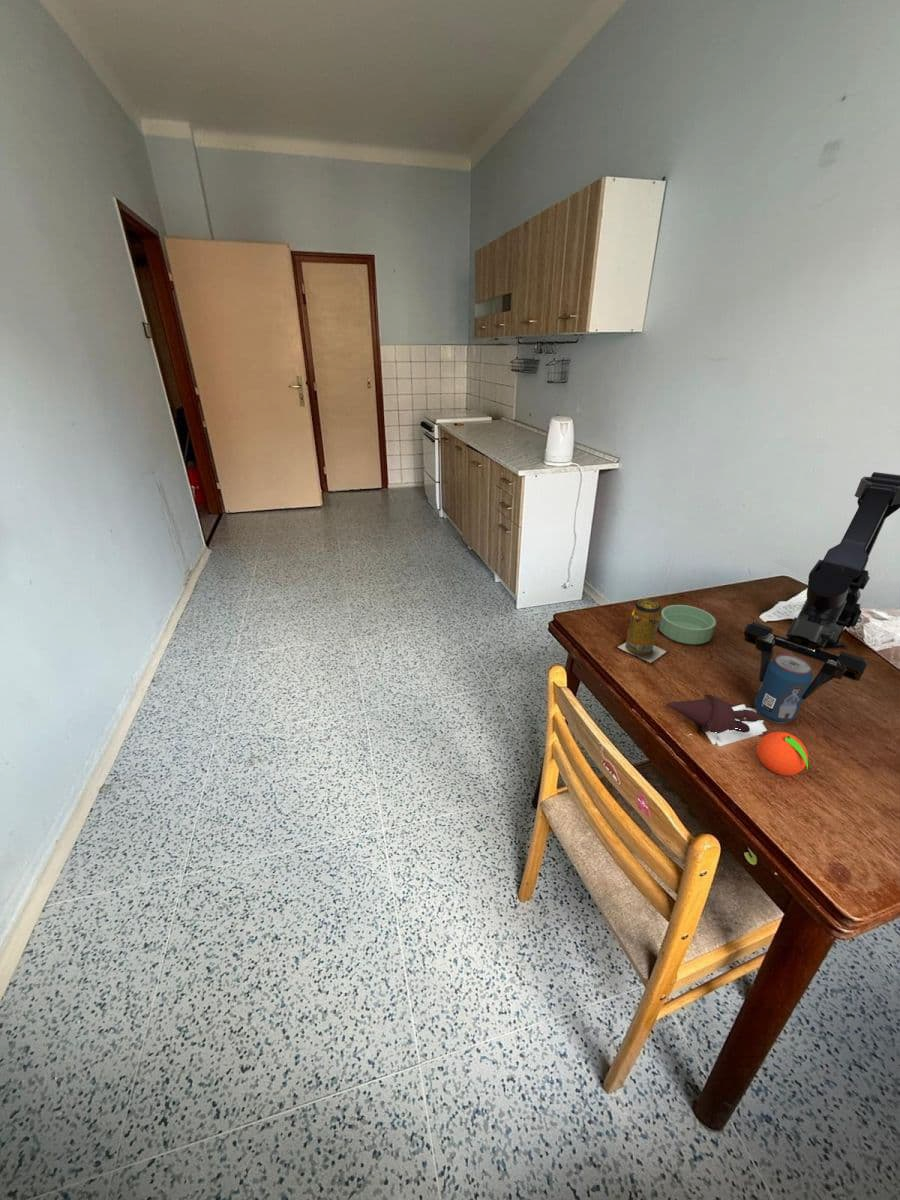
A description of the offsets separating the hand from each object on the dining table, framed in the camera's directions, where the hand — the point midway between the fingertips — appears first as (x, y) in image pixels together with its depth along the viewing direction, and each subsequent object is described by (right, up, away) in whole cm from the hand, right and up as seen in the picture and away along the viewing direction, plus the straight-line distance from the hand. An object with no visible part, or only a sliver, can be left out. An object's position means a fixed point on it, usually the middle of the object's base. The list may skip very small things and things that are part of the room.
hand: (781, 689), depth 88 cm
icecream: (-13, -7, +1) cm, 15 cm away
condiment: (-16, +5, +24) cm, 29 cm away
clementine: (-6, -12, -8) cm, 16 cm away
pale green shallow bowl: (-3, +9, +30) cm, 32 cm away
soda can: (+1, -6, +4) cm, 7 cm away
